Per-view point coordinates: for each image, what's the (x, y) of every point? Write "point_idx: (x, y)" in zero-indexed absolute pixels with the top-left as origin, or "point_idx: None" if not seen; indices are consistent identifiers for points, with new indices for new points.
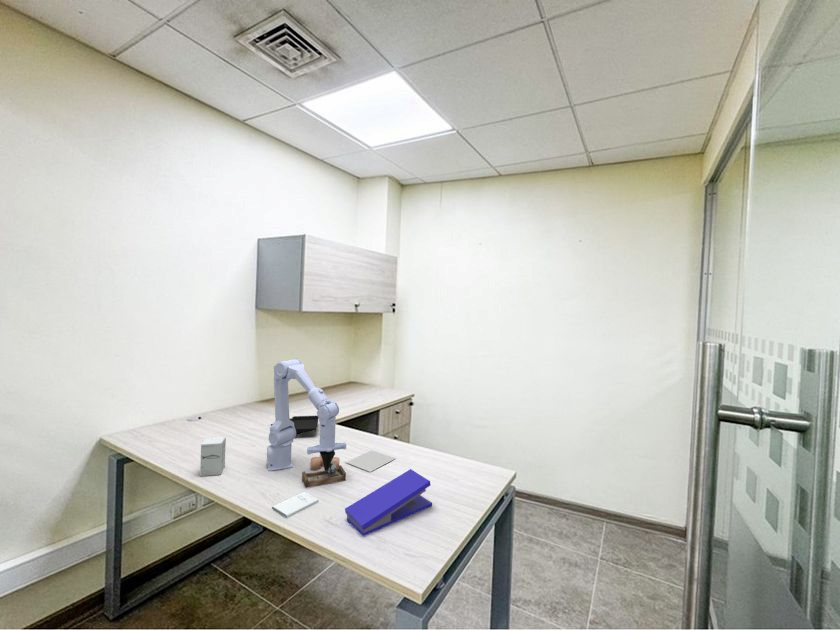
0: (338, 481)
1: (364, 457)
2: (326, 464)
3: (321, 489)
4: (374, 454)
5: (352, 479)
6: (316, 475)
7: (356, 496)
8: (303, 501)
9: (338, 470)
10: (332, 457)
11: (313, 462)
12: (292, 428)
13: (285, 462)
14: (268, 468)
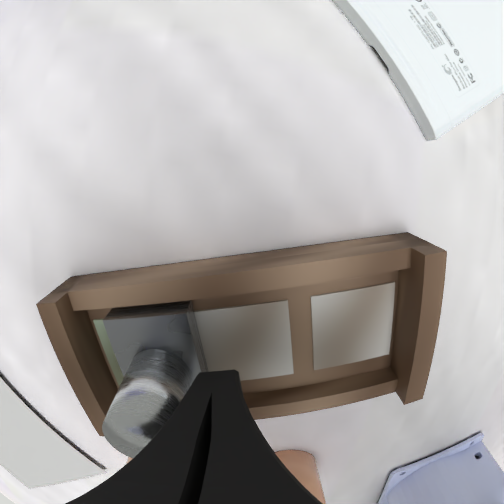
0: (121, 271)
1: (33, 465)
2: (224, 418)
3: (284, 166)
4: (7, 462)
5: (30, 278)
6: (304, 384)
7: (41, 22)
8: (429, 4)
9: None
10: (103, 491)
11: (311, 493)
12: None
13: (433, 480)
14: (481, 442)
